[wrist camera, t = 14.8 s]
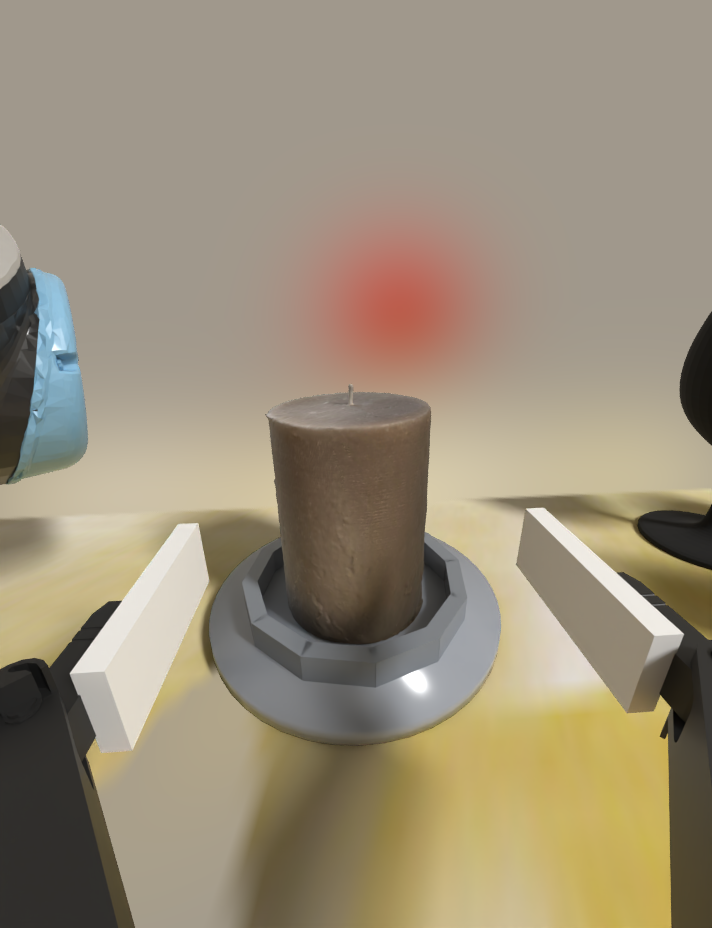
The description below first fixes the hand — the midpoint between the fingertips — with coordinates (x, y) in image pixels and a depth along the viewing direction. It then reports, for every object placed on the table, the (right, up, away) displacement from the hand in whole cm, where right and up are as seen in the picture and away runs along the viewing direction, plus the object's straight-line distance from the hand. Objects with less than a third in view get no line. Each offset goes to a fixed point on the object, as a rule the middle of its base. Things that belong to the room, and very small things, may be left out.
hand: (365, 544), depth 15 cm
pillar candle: (-1, -6, +12) cm, 14 cm away
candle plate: (0, -7, +13) cm, 14 cm away
